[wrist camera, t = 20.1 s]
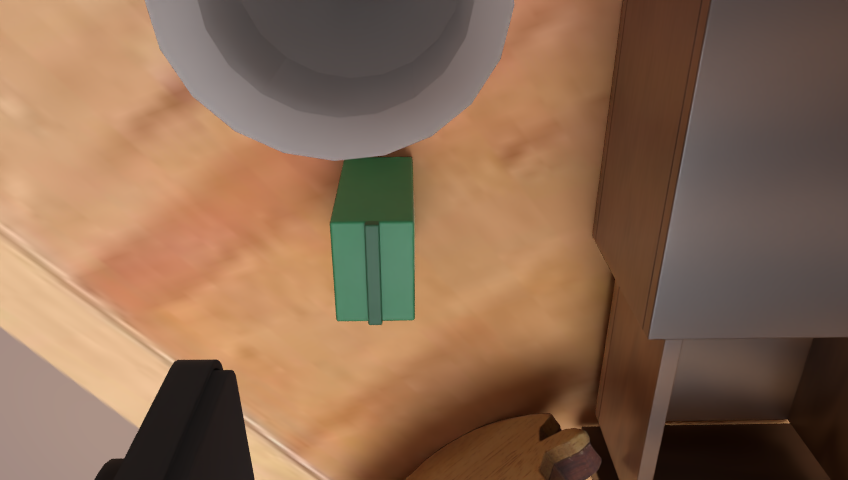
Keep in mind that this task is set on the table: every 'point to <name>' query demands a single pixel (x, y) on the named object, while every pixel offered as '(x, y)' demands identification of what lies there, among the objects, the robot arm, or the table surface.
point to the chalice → (333, 67)
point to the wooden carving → (514, 453)
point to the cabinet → (729, 168)
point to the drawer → (719, 406)
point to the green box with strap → (374, 240)
